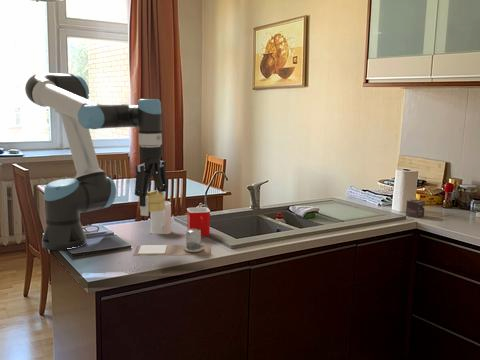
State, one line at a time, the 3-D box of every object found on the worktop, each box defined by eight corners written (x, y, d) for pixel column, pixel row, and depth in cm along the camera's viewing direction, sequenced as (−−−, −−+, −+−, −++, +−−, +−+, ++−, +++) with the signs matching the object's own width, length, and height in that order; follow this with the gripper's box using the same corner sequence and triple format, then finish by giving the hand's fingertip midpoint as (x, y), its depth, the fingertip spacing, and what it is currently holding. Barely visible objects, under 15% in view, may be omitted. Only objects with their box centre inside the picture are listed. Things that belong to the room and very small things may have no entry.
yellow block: (155, 212, 156) (154, 194, 155) (135, 210, 159) (134, 192, 158) (168, 207, 163) (168, 190, 162) (149, 205, 166) (149, 188, 165)
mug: (174, 236, 184) (174, 206, 182) (152, 238, 182) (151, 207, 180) (170, 228, 195) (169, 200, 193) (149, 230, 193) (148, 201, 191)
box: (417, 218, 217) (418, 202, 216) (405, 215, 222) (406, 200, 221) (424, 216, 221) (425, 200, 220) (412, 213, 226) (413, 198, 224)
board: (133, 259, 158) (132, 255, 158) (137, 248, 169) (137, 245, 169) (211, 257, 160) (211, 254, 160) (210, 247, 171) (210, 244, 171)
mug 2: (186, 234, 188) (186, 208, 186) (206, 232, 190) (206, 207, 188) (191, 243, 176) (191, 215, 174) (213, 241, 178) (213, 214, 177)
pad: (137, 254, 159) (137, 253, 159) (141, 246, 168) (141, 245, 168) (165, 254, 160) (165, 253, 160) (166, 246, 169) (166, 244, 169)
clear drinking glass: (183, 253, 161) (182, 233, 160) (183, 246, 168) (183, 228, 167) (203, 252, 162) (203, 233, 161) (203, 246, 169) (203, 227, 168)
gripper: (140, 149, 147) (142, 220, 151) (177, 143, 165) (178, 207, 169) (121, 148, 150) (123, 218, 154) (159, 143, 169) (160, 205, 172)
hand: (152, 212), depth 161 cm, fingers closed on yellow block, 8 cm apart
